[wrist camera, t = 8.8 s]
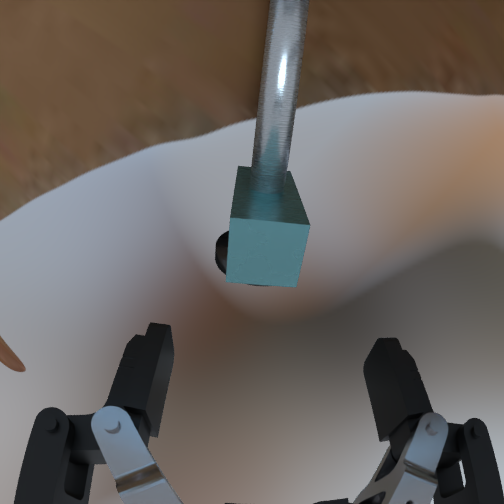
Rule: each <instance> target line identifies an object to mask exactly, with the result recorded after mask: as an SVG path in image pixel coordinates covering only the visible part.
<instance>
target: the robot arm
mask: <svg viewBox="0 0 504 504" xmlns="http://www.w3.org/2000/svg"><path fill="white" fill-rule="evenodd" d="M173 362H174V346H173V339H172V332H171V326H170V325H166V324H158V323H150V324H149V327H148V329H147V332H146V335H145V336H142V335H137V334H136V335H135V336H134V337H133V338H132V339H131V340H130V341H129V342H128V343H127V345H126V348H125V351H124V354H123V358H122V359H121V362H120V364H119V367H118V370H117V373H116V376H115V378H114V381H113V384H112V387H111V390H110V393H109V396H108V399H107V402H106V403H105V405H104V406H103V407H102V408H101V409H99V410H98V411H97V412H95V413H93V414H89V415H66V414H65V413H64V412H63V411H61V410H60V409H58V408H54V407H50V408H45V409H43V410H42V411H41V412H39V414H38V415H37V416H36V419H35V422H34V425H33V428H32V431H31V434H30V438H29V441H28V445H27V448H26V452H25V456H24V460H23V463H22V468H21V471H20V477H19V480H18V485H17V490H16V495H15V500H14V504H88V501H89V495H90V488H91V482H92V476H93V470H94V464H107V465H108V467H109V469H110V471H111V473H112V475H113V477H114V479H115V481H116V488H117V491H118V493H119V495H120V497H121V499H122V501H123V502H124V504H183V502H182V501H181V500H180V498H179V497H178V495H177V494H176V492H175V491H174V489H173V488H172V487H171V485H170V484H169V482H168V481H167V479H166V477H165V476H164V475H163V473H162V471H161V470H160V468H159V466H158V465H157V463H156V461H155V460H154V458H153V456H152V455H151V453H150V451H149V449H148V448H147V447H148V442H149V437H150V436H152V437H158V433H159V428H160V423H161V418H162V413H163V408H164V404H165V399H166V394H167V390H168V385H169V381H170V376H171V372H172V367H173ZM363 369H364V370H363V372H364V377H365V381H366V385H367V389H368V393H369V397H370V401H371V405H372V409H373V414H374V418H375V422H376V426H377V431H378V436H379V441H380V442H382V441H388V440H389V441H390V446H389V447H388V449H387V450H386V453H385V455H384V457H383V458H382V461H381V462H380V464H379V466H378V468H377V470H376V472H375V473H374V475H373V477H372V479H371V480H370V482H369V484H368V485H367V486H366V487H365V488H364V489H363V490H362V491H361V492H360V494H359V495H358V496H357V498H356V499H355V501H354V502H353V503H348V498H345V499H337V500H330V501H321V502H317V503H314V504H430V502H431V500H432V498H433V499H434V504H504V496H503V490H502V485H501V480H500V475H499V471H498V467H497V462H496V459H495V454H494V451H493V447H492V444H491V440H490V436H489V433H488V430H487V427H486V425H485V424H484V422H483V421H481V420H480V419H477V418H472V419H469V420H468V421H467V422H466V423H464V424H454V423H447V422H446V420H445V419H444V418H443V417H442V416H441V415H440V414H438V413H434V412H433V409H432V407H431V404H430V401H429V398H428V395H427V392H426V390H425V387H424V384H423V382H422V380H421V376H420V374H419V372H418V368H417V366H416V363H415V361H414V359H413V358H412V356H411V355H410V354H409V353H408V352H407V350H402V348H401V345H400V343H399V340H398V339H397V338H378V339H377V341H376V342H375V344H374V346H373V348H372V349H371V351H370V353H369V355H368V357H367V358H366V360H365V362H364V368H363ZM461 460H462V464H463V469H464V474H465V479H466V485H465V487H464V485H463V481H462V475H461V470H460V465H459V461H461ZM225 504H234V503H225Z"/></svg>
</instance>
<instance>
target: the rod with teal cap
mask: <svg viewBox="0 0 504 504" xmlns="http://www.w3.org/2000/svg"><path fill="white" fill-rule="evenodd" d="M308 8H309V0H270V7H269V16H268V24H267V33H266V41H265V50H264V58H263V67H262V76H261V84H260V93H259V102H258V111H257V120H256V129H255V138H254V149H253V158H252V166H251V167H244V166H238V170H237V177H236V184H235V189H234V196H233V202H232V209H231V216H230V227H229V231H227V232H225V233H224V234H222V235H221V236H220V237H219V238H218V240H217V242H216V252H215V260H216V264H217V266H218V268H219V269H220V270H221V271H222V272H223V273H224V274H225V275H226V282H232V283H244V284H249V285H254V286H283V287H296V286H297V281H298V278H299V273H300V269H301V265H302V260H303V256H304V252H305V247H306V242H307V238H308V233H309V229H310V223H309V220H308V218H307V215H306V212H305V209H304V207H303V204H302V201H301V198H300V196H299V193H298V190H297V188H296V185H295V182H294V180H293V177H292V175H291V172H290V171H287V167H288V160H289V153H290V146H291V138H292V132H293V125H294V118H295V111H296V104H297V96H298V89H299V81H300V74H301V66H302V58H303V50H304V42H305V33H306V25H307V17H308Z"/></svg>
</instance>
